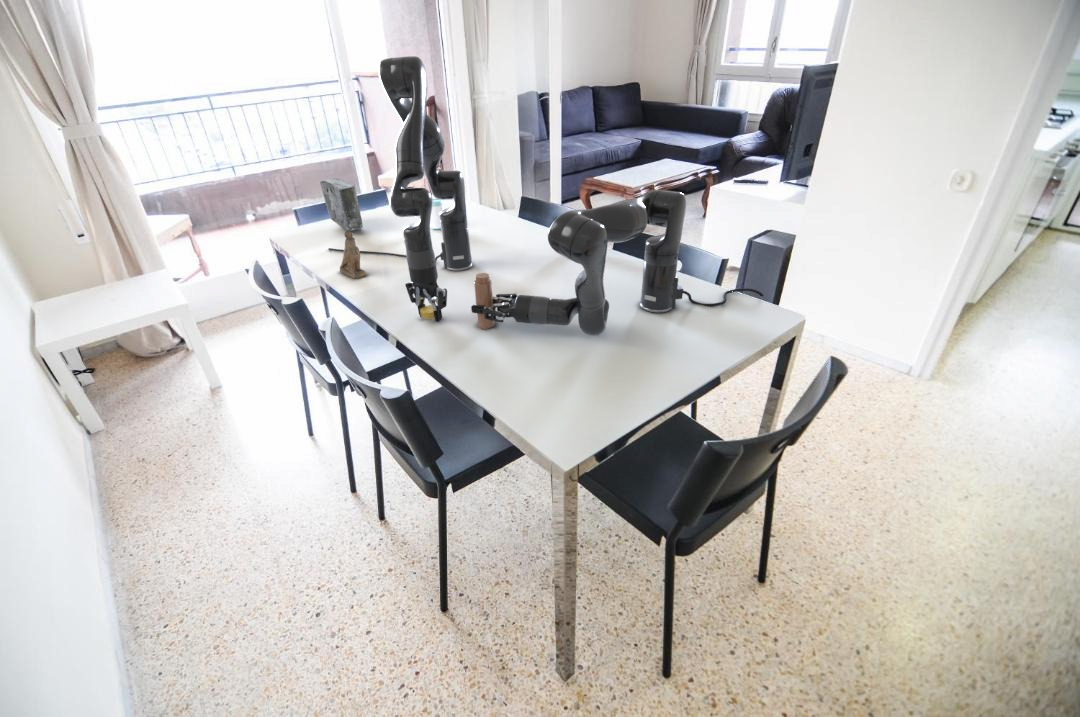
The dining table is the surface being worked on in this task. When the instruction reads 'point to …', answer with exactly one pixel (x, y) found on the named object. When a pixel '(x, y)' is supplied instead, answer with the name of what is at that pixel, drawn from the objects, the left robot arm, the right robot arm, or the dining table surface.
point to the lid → (427, 312)
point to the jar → (483, 297)
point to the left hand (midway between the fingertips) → (431, 318)
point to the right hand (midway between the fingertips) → (475, 304)
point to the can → (436, 214)
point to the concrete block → (342, 203)
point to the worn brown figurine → (351, 258)
